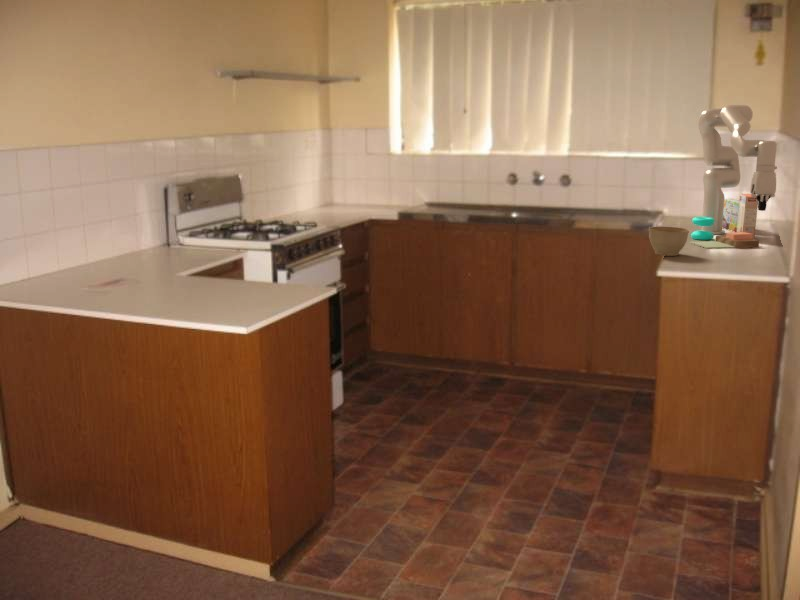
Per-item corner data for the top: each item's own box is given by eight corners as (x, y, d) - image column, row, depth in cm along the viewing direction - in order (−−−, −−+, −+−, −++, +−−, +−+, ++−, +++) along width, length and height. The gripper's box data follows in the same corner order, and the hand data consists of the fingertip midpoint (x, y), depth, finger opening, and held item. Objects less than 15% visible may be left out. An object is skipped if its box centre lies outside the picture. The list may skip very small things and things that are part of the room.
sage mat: (689, 243, 384) (689, 241, 383) (715, 242, 385) (716, 241, 385) (707, 248, 368) (707, 247, 368) (734, 247, 370) (734, 246, 370)
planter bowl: (676, 259, 343) (678, 232, 340) (640, 254, 354) (641, 229, 351) (693, 254, 354) (695, 228, 352) (657, 250, 365) (659, 225, 363)
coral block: (726, 237, 380) (726, 232, 380) (744, 236, 382) (745, 232, 381) (733, 239, 374) (733, 234, 374) (752, 238, 376) (752, 234, 375)
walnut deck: (715, 242, 386) (715, 235, 385) (737, 241, 388) (738, 235, 387) (735, 248, 370) (735, 241, 369) (758, 247, 371) (758, 240, 371)
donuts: (719, 218, 391) (701, 219, 388) (717, 239, 393) (699, 241, 390) (705, 216, 400) (687, 216, 397) (704, 236, 402) (686, 237, 399)
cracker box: (755, 242, 387) (759, 196, 382) (741, 241, 388) (745, 196, 383) (749, 237, 400) (753, 193, 395) (735, 237, 401) (739, 193, 397)
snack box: (720, 227, 433) (722, 198, 429) (730, 227, 433) (733, 198, 430) (739, 233, 412) (742, 203, 409) (750, 233, 412) (753, 203, 409)
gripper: (775, 168, 377) (772, 209, 381) (745, 168, 375) (741, 209, 379) (785, 169, 370) (782, 210, 374) (754, 169, 368) (750, 211, 372)
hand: (761, 210), depth 376 cm, fingers closed
